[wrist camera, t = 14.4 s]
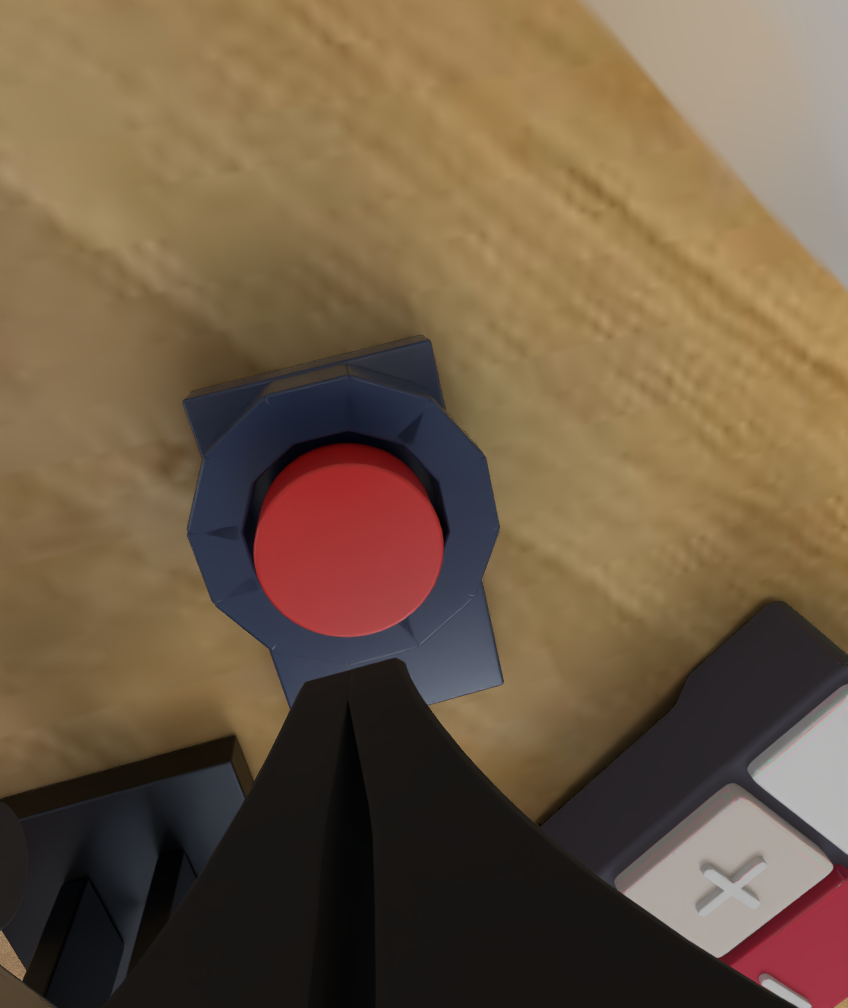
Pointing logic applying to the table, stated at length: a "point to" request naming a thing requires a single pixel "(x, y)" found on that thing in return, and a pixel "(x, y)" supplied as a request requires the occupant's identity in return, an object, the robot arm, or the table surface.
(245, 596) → the control block
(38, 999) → the lever
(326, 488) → the button
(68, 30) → the table surface
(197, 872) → the bracket
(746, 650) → the calculator
